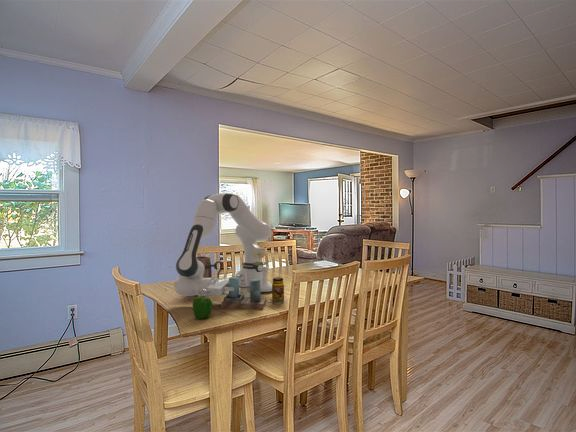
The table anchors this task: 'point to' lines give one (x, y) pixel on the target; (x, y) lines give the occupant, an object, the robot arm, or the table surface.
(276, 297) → the condiment
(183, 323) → the table surface
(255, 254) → the flower in vase
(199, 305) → the bell pepper
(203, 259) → the tankard
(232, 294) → the column
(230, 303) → the base
